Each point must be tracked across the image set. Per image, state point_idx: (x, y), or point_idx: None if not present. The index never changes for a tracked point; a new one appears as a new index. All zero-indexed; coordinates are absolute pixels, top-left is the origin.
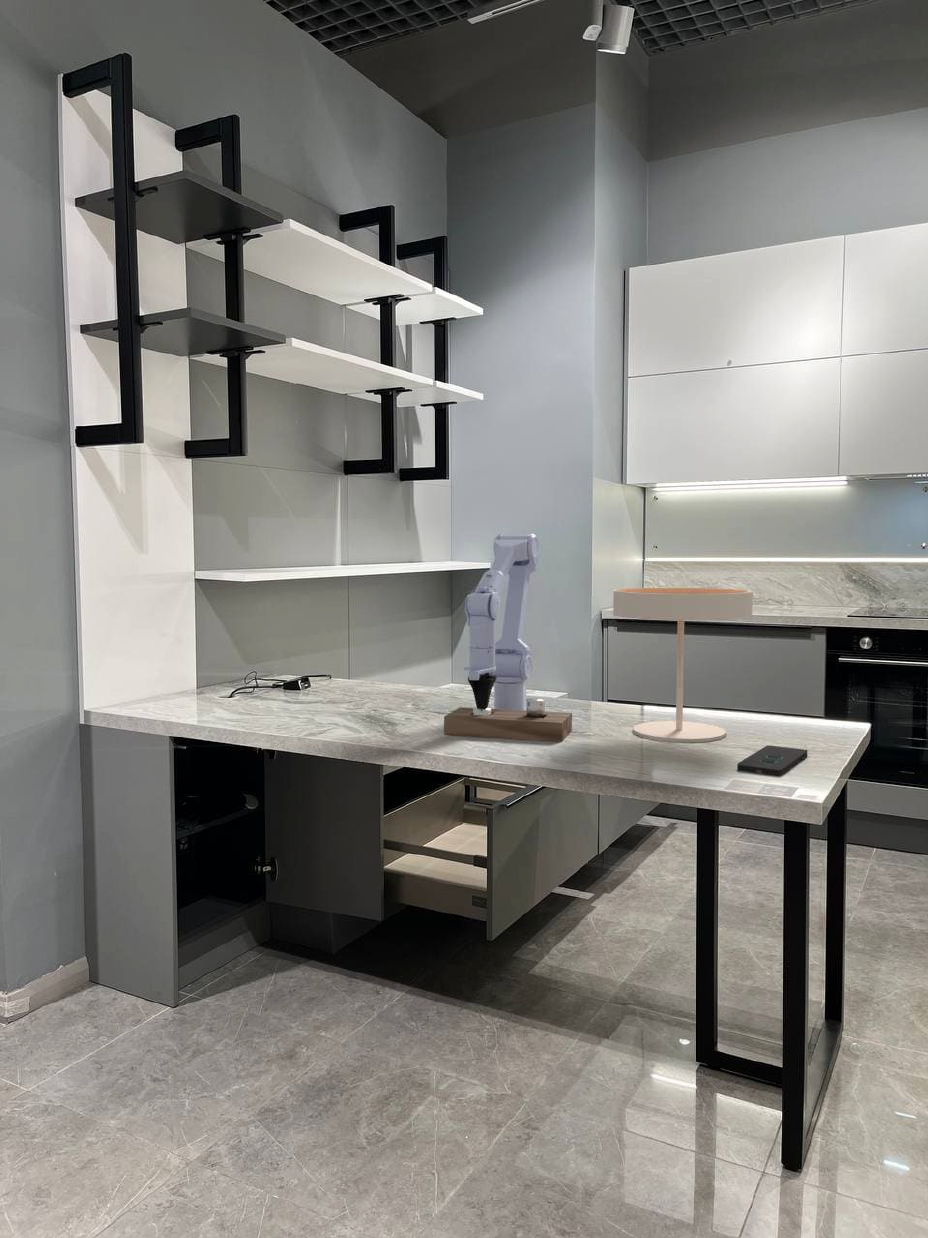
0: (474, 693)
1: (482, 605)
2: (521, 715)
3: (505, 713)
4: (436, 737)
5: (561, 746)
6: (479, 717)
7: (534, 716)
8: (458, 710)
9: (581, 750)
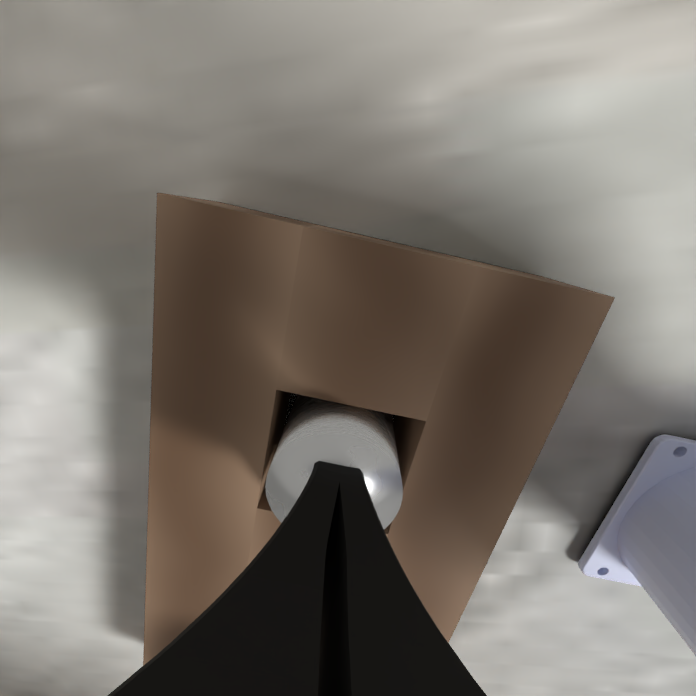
0: (259, 554)
1: None
2: None
3: None
4: (135, 159)
5: (104, 650)
6: (179, 454)
7: None
8: (458, 297)
9: (65, 687)
